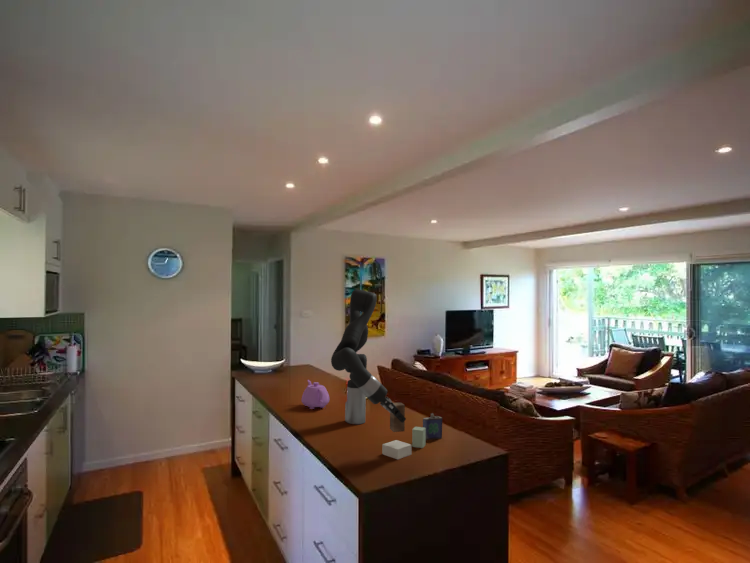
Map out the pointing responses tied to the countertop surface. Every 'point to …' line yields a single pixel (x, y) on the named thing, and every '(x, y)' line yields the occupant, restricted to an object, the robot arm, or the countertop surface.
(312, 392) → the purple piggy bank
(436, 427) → the flask
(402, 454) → the base block
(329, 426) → the countertop surface
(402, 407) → the walnut pillar
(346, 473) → the countertop surface
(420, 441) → the sage block
